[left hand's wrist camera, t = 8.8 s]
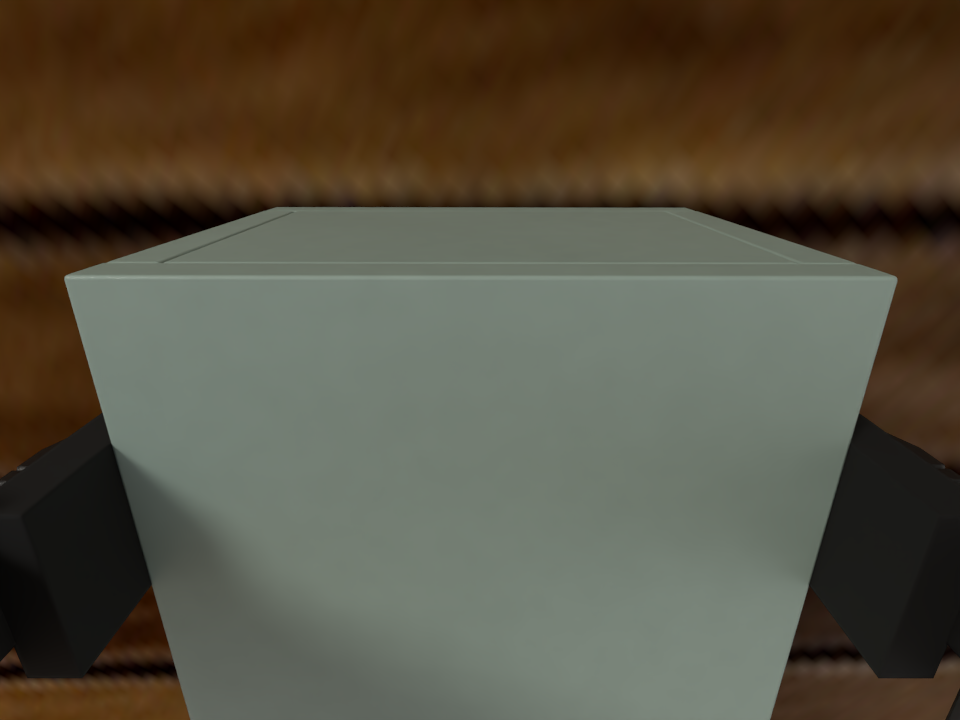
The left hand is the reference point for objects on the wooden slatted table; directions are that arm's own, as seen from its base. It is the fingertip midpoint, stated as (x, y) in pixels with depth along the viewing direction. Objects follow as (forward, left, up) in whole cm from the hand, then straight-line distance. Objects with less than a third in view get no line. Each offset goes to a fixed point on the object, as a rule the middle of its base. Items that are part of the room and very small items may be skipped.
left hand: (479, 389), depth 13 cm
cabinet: (0, +5, -3) cm, 6 cm away
